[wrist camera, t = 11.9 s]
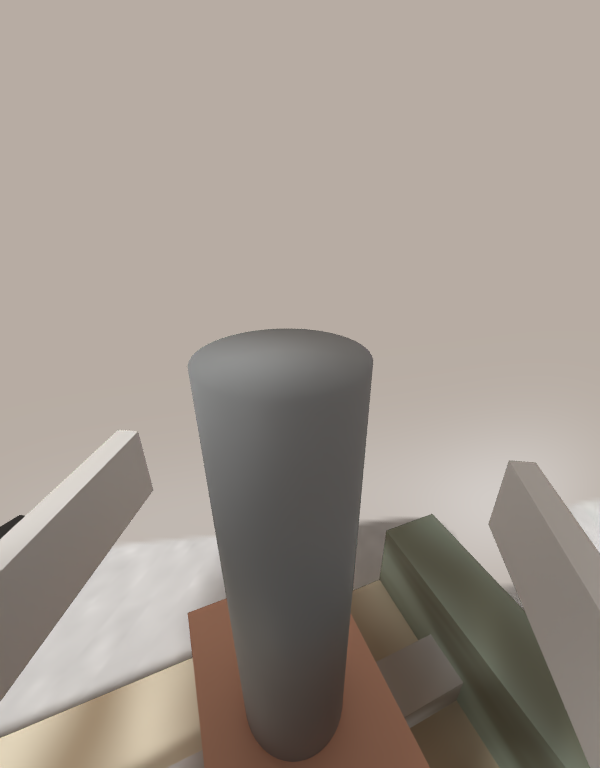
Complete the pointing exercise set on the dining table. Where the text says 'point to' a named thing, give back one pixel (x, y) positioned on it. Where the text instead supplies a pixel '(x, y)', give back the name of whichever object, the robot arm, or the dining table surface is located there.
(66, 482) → the robot arm
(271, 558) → the carriage
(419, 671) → the rail track
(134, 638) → the dining table surface
